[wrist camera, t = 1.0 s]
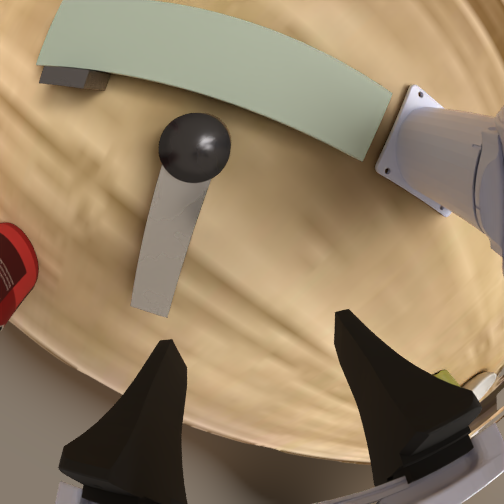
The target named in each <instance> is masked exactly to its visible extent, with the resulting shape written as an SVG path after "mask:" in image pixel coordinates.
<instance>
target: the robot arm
mask: <svg viewBox="0 0 504 504" xmlns="http://www.w3.org/2000/svg"><path fill="white" fill-rule="evenodd" d="M419 92H420V97H419V95H418V93H419ZM386 168H388V172H387V173H385V169H386ZM375 170H376V172H377V173H379V174H381V175H382V176H384V177H386V178H387V179H389V180H391V181H392V182H394V183H396V184H397V185H399V186H400V187H402V188H404V189H405V190H407V191H408V192H410V193H411V194H413V195H414V196H416V197H417V198H419V199H420V200H422V201H423V202H425V203H426V204H428V205H429V206H431V207H432V208H434V209H435V210H436V211H438V212H439V213H441V214H442V215H443V216H445V217H448V216H449V215H450V214H451V212H453V213H455V214H456V215H458V216H459V217H461V218H462V219H464V220H465V221H467V222H468V223H470V224H471V225H473V226H474V227H476V228H477V229H478V230H480V231H481V232H483V233H484V234H486V235H487V237H488V238H489V240H490V243H491V249H493V250H494V251H495V252H496V253H498V254H499V255H500V256H501V257H503V259H502V270H503V276H504V106H503V107H502V109H501V110H500V111H499V112H498V113H497V115H496V116H495V117H491V116H486V115H481V114H476V113H470V112H464V111H458V110H451V109H444V108H443V107H442V106H441V105H440V104H439V103H438V102H436V101H435V100H434V99H433V98H432V97H431V96H429V95H428V94H427V93H426V92H425V91H424V90H422V89H421V88H420V87H419V86H417V85H411V86H410V87H409V89H408V91H407V94H406V97H405V99H404V101H403V104H402V106H401V109H400V111H399V114H398V116H397V118H396V121H395V123H394V125H393V128H392V130H391V132H390V134H389V137H388V139H387V141H386V143H385V146H384V148H383V150H382V152H381V154H380V157H379V159H378V161H377V163H376V166H375ZM440 206H441V208H440ZM334 345H335V348H336V352H337V355H338V359H339V362H340V365H341V367H342V370H343V372H344V374H345V377H346V379H347V382H348V384H349V386H350V389H351V391H352V393H353V396H354V398H355V401H356V404H357V406H358V409H359V413H360V416H361V420H362V424H363V428H364V432H365V436H366V441H367V445H368V450H369V455H370V460H371V466H372V472H373V480H374V485H375V487H373V488H370V489H367V490H365V491H361V492H358V493H354V494H351V495H347V496H344V497H340V498H337V499H332V500H328V501H323V502H319V503H314V504H371V503H374V502H376V501H378V502H377V503H376V504H461V503H463V502H464V501H466V500H467V499H469V498H470V497H471V496H473V495H474V494H476V493H477V492H478V491H480V490H481V489H482V488H483V487H485V486H486V485H488V484H489V483H490V482H491V481H493V480H494V479H495V478H496V477H498V476H499V475H500V474H501V473H503V472H504V440H503V438H502V436H501V434H500V432H499V430H498V428H497V426H496V424H495V423H492V424H491V425H490V426H488V427H487V428H485V429H484V430H482V431H481V432H479V433H478V434H477V435H475V436H474V437H472V438H471V439H470V437H469V435H468V434H470V432H471V431H470V428H469V426H468V425H469V424H470V423H471V422H472V421H473V420H474V419H475V418H476V417H477V416H478V414H479V413H480V412H481V409H482V407H481V405H480V403H479V401H478V399H477V397H476V396H475V394H474V393H473V391H471V390H468V389H465V388H462V387H459V386H456V385H453V384H451V383H448V382H446V381H444V380H441V379H439V378H437V377H435V376H433V375H431V374H429V373H428V372H426V371H424V370H422V369H420V368H419V367H417V366H415V365H414V364H412V363H411V362H409V361H408V360H406V359H405V358H403V357H402V356H400V355H399V354H398V353H396V352H395V351H394V350H393V349H391V348H390V347H389V346H388V345H386V344H385V343H384V342H383V341H382V340H381V339H379V338H378V337H377V336H376V335H375V334H374V333H373V332H372V331H371V330H370V329H368V328H367V327H366V326H365V325H364V324H363V323H362V322H361V321H360V320H359V319H358V318H357V317H356V316H355V315H354V314H353V313H352V312H351V311H350V310H349V309H347V310H342V311H338V312H335V334H334ZM186 390H187V366H186V365H185V363H184V361H183V359H182V357H181V355H180V353H179V352H178V350H177V348H176V346H175V344H174V342H173V340H172V339H170V340H160V341H159V343H158V344H157V346H156V347H155V349H154V350H153V352H152V353H151V355H150V356H149V358H148V360H147V361H146V363H145V364H144V366H143V367H142V369H141V370H140V372H139V373H138V375H137V376H136V378H135V379H134V381H133V382H132V383H131V385H130V386H129V387H128V389H127V390H126V392H125V393H124V394H123V395H122V397H121V398H120V399H119V400H118V401H117V402H116V404H115V405H114V406H113V407H112V408H111V409H110V410H109V411H108V412H107V413H106V414H105V415H104V416H103V417H102V418H101V419H100V420H99V421H98V422H97V423H96V424H94V425H93V426H92V427H91V428H90V429H88V430H87V431H86V432H85V433H83V434H82V435H81V436H79V437H78V438H76V439H75V440H73V441H72V442H70V443H68V444H67V445H65V446H64V448H63V452H62V456H61V459H60V463H59V470H60V471H61V472H62V473H64V474H65V475H67V476H69V477H70V478H72V479H74V480H76V481H78V482H80V483H81V484H83V485H84V486H83V489H81V488H79V487H76V486H73V485H71V484H67V483H65V482H62V481H60V482H59V487H58V492H57V497H56V503H55V504H187V499H186V493H185V486H184V478H183V468H182V450H181V449H182V448H181V433H182V422H183V414H184V406H185V398H186ZM379 500H380V501H379Z"/></svg>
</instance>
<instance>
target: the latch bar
mask: <svg viewBox="0 0 504 504" xmlns="http://www.w3.org/2000/svg"><path fill="white" fill-rule="evenodd" d="M230 148H231V137H230V133H229V130H228V128H227V126H226V125H225V124H224V123H223V122H222V121H221V120H220V119H219V118H217V117H215V116H213V115H210V114H205V113H190V114H185V115H182V116H180V117H178V118H176V119H174V120H173V121H172V122H171V123H170V124H169V125H168V126H167V127H166V128H165V129H164V131H163V133H162V135H161V138H160V141H159V157H160V160H161V163H162V167H161V170H160V174H159V177H158V181H157V184H156V188H155V191H154V195H153V199H152V203H151V207H150V211H149V215H148V219H147V223H146V227H145V232H144V236H143V241H142V245H141V250H140V255H139V260H138V265H137V270H136V276H135V281H134V287H133V293H132V300H131V306H132V307H135V308H138V309H141V310H144V311H147V312H150V313H153V314H156V315H160V316H163V317H166V318H167V317H168V314H169V310H170V306H171V303H172V299H173V296H174V292H175V289H176V285H177V282H178V278H179V275H180V272H181V268H182V265H183V262H184V258H185V255H186V252H187V249H188V246H189V243H190V239H191V236H192V233H193V230H194V227H195V224H196V221H197V218H198V215H199V212H200V209H201V206H202V204H203V201H204V198H205V195H206V192H207V189H208V187H209V184H210V181H211V179H212V178H213V177H215V176H216V175H218V174H219V173H220V172H221V171H222V169H223V168H224V167H225V165H226V163H227V161H228V159H229V155H230Z"/></svg>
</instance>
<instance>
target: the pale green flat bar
mask: <svg viewBox="0 0 504 504" xmlns="http://www.w3.org/2000/svg"><path fill="white" fill-rule="evenodd" d="M36 65H41V66H52V67H65V68H76V69H85V70H91V71H98V72H105V73H111V74H117V75H123V76H128V77H133V78H138V79H143V80H148V81H152V82H156V83H160V84H165V85H169V86H172V87H176V88H180V89H184V90H187V91H191V92H194V93H198V94H201V95H204V96H208V97H211V98H214V99H217V100H220V101H223V102H226V103H229V104H232V105H235V106H238V107H240V108H243V109H246V110H249V111H251V112H254V113H257V114H259V115H262V116H264V117H267V118H269V119H272V120H274V121H277V122H279V123H281V124H284V125H286V126H288V127H291V128H293V129H295V130H298V131H300V132H302V133H304V134H306V135H309V136H311V137H313V138H315V139H317V140H319V141H321V142H323V143H325V144H327V145H329V146H331V147H333V148H335V149H337V150H339V151H341V152H343V153H345V154H347V155H349V156H351V157H353V158H355V159H358V160H360V161H362V162H363V160H364V158H365V155H366V153H367V151H368V149H369V147H370V145H371V142H372V140H373V138H374V136H375V134H376V131H377V129H378V127H379V124H380V122H381V120H382V118H383V115H384V113H385V111H386V108H387V106H388V104H389V101H390V99H391V96H392V94H393V93H391V92H390V91H388V90H387V89H385V88H384V87H382V86H381V85H379V84H378V83H376V82H375V81H373V80H372V79H370V78H368V77H367V76H365V75H364V74H362V73H360V72H359V71H357V70H355V69H353V68H352V67H350V66H348V65H346V64H345V63H343V62H341V61H339V60H337V59H335V58H334V57H332V56H330V55H328V54H326V53H324V52H322V51H320V50H318V49H316V48H314V47H311V46H309V45H307V44H305V43H303V42H301V41H298V40H296V39H294V38H291V37H289V36H286V35H284V34H282V33H279V32H276V31H274V30H271V29H269V28H266V27H263V26H260V25H257V24H254V23H251V22H248V21H245V20H242V19H239V18H235V17H232V16H228V15H225V14H221V13H217V12H213V11H209V10H205V9H200V8H195V7H191V6H185V5H180V4H174V3H167V2H160V1H152V0H63V1H62V3H61V5H60V7H59V9H58V11H57V13H56V16H55V18H54V20H53V22H52V24H51V27H50V29H49V31H48V34H47V36H46V39H45V41H44V44H43V46H42V49H41V52H40V54H39V57H38V60H37V63H36Z"/></svg>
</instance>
